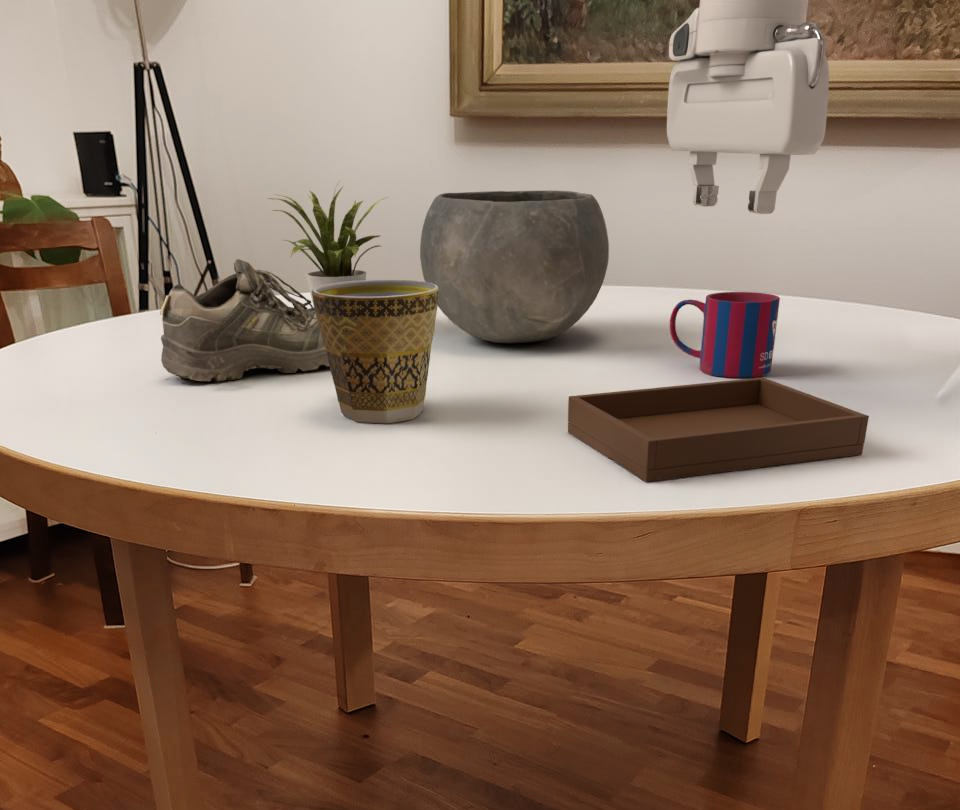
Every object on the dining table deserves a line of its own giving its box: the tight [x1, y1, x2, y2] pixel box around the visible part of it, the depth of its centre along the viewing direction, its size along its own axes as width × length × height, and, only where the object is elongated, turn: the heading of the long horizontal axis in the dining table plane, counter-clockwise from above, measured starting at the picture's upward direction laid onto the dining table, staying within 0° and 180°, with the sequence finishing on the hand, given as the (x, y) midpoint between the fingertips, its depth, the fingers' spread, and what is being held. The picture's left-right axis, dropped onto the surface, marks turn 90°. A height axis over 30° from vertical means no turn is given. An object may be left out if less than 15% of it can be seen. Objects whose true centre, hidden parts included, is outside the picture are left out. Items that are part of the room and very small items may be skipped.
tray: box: [567, 376, 870, 483], centre depth 72 cm, size 17×13×3 cm
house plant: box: [266, 181, 389, 306], centre depth 115 cm, size 14×14×16 cm
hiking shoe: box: [159, 258, 330, 383], centre depth 97 cm, size 9×21×12 cm
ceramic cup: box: [311, 279, 439, 424], centre depth 81 cm, size 13×10×10 cm
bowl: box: [419, 189, 610, 345], centre depth 107 cm, size 20×20×15 cm
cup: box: [669, 291, 781, 379], centre depth 94 cm, size 7×10×7 cm
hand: (731, 209), depth 89 cm, fingers open, 8 cm apart
